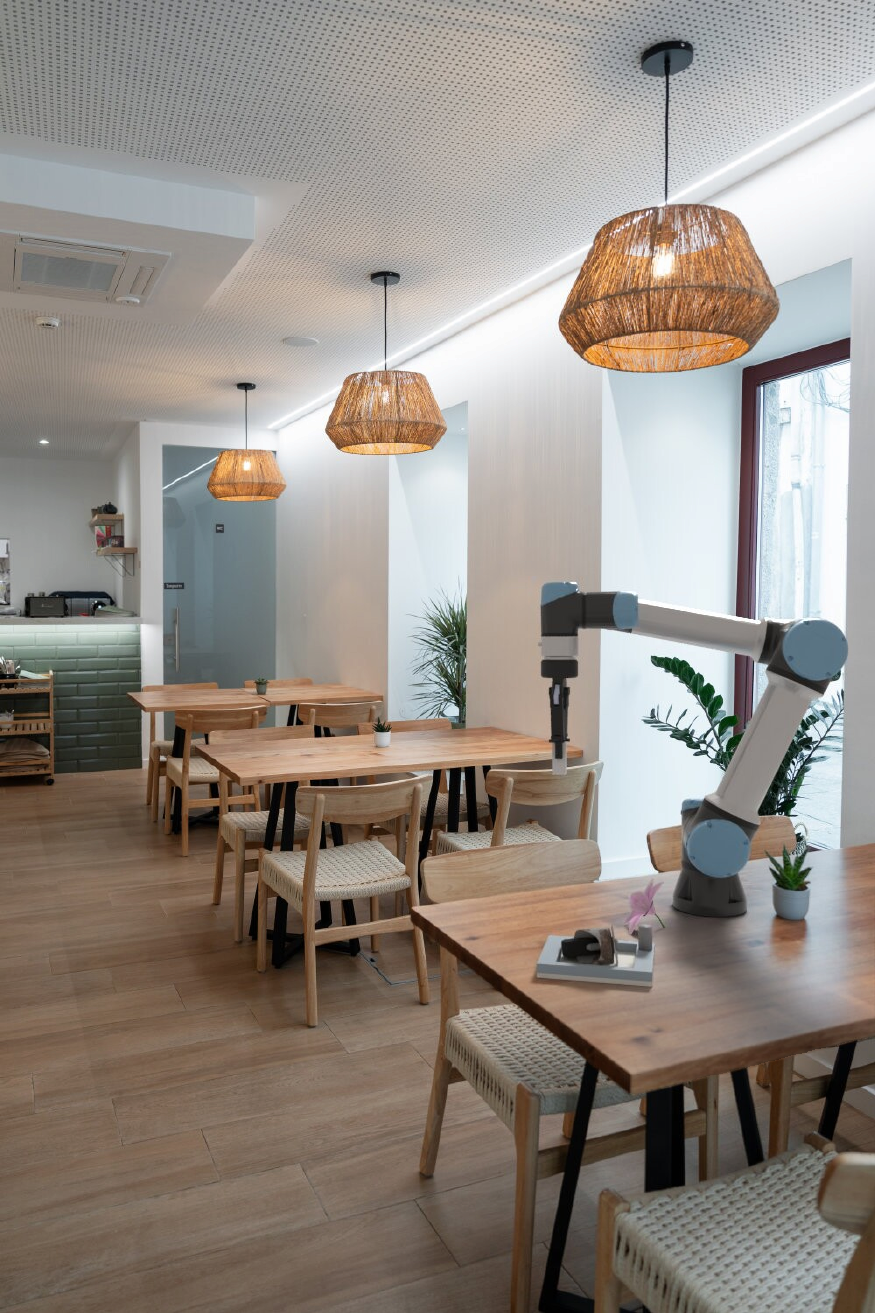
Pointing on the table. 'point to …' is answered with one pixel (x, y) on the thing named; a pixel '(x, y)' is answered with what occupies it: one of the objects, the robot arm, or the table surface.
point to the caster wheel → (592, 946)
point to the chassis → (630, 969)
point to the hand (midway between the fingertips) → (559, 774)
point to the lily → (642, 905)
